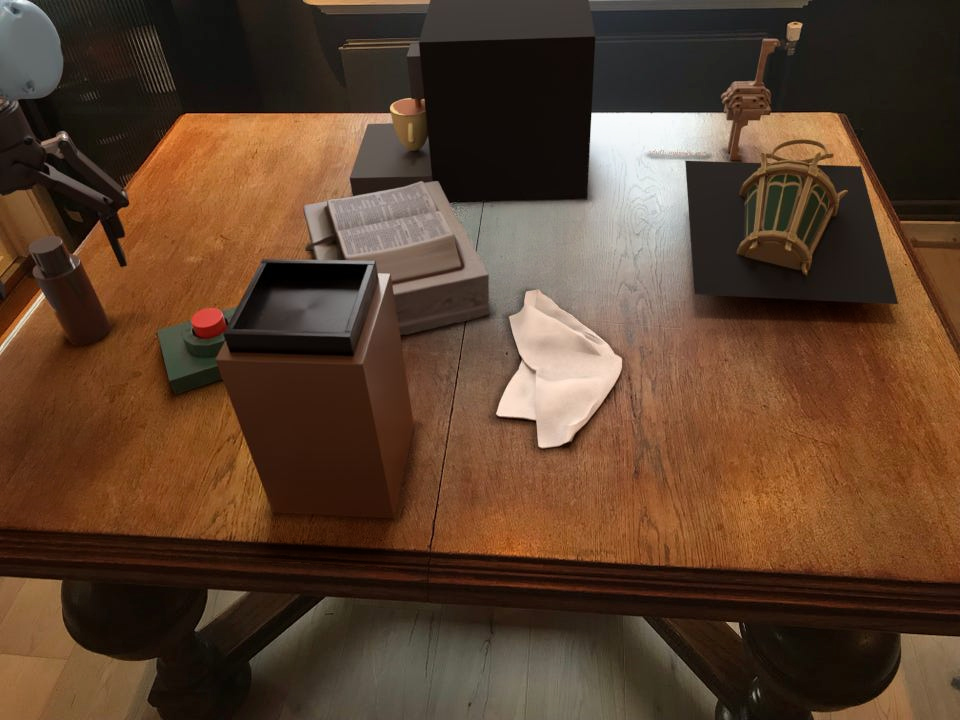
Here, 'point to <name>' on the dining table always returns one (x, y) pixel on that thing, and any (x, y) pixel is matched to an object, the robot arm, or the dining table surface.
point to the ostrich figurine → (744, 103)
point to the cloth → (557, 371)
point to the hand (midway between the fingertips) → (63, 277)
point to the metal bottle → (68, 291)
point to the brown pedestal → (321, 386)
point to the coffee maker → (491, 105)
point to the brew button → (208, 323)
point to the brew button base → (191, 355)
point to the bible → (407, 251)
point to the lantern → (785, 231)
